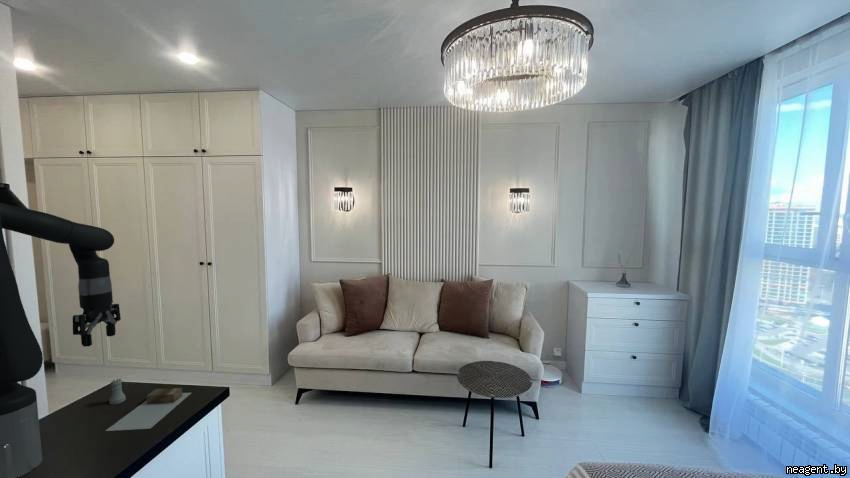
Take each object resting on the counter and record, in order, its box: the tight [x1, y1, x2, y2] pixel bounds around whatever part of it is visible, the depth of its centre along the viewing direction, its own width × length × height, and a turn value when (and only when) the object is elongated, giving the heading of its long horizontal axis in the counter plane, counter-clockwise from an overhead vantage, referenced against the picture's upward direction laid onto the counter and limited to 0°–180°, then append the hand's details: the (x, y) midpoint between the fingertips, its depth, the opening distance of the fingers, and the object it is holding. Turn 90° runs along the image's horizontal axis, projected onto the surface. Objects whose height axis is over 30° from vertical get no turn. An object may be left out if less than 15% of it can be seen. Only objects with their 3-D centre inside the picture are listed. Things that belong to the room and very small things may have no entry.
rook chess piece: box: [108, 378, 127, 405], centre depth 118 cm, size 4×4×8 cm
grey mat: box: [105, 392, 192, 432], centre depth 113 cm, size 21×13×1 cm, turn 5°
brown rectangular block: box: [145, 387, 183, 404], centre depth 119 cm, size 9×4×3 cm, turn 95°
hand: (99, 340), depth 107 cm, fingers open, 8 cm apart
